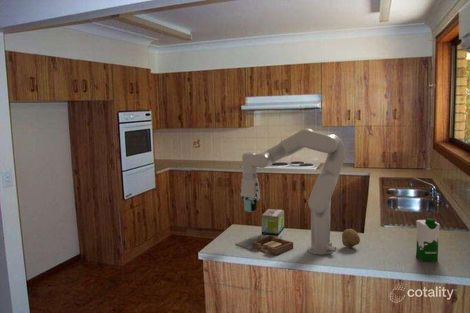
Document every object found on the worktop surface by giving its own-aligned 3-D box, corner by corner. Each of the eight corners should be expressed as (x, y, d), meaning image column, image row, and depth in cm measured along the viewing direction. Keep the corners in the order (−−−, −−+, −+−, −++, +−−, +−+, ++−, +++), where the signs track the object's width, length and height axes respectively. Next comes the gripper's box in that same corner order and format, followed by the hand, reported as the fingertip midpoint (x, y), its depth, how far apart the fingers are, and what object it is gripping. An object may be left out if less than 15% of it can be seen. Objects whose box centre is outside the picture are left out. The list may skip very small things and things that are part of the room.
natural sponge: (361, 246, 213) (361, 227, 211) (357, 252, 205) (357, 232, 204) (344, 243, 217) (344, 225, 216) (339, 249, 210) (339, 230, 209)
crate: (293, 248, 212) (293, 242, 212) (275, 256, 203) (275, 249, 202) (270, 241, 224) (270, 235, 223) (252, 248, 214) (252, 242, 214)
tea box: (278, 242, 223) (278, 216, 221) (261, 240, 226) (260, 215, 224) (284, 234, 237) (284, 209, 235) (267, 232, 240) (267, 208, 238)
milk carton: (422, 262, 190) (423, 220, 187) (413, 255, 199) (414, 215, 196) (440, 261, 190) (442, 220, 187) (430, 254, 199) (432, 214, 196)
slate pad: (266, 244, 220) (266, 243, 220) (251, 250, 212) (251, 249, 212) (250, 239, 229) (250, 238, 229) (235, 244, 221) (235, 243, 221)
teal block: (256, 210, 218) (256, 199, 217) (250, 212, 215) (250, 200, 214) (250, 208, 221) (250, 198, 220) (244, 210, 218) (244, 199, 217)
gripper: (266, 176, 212) (266, 211, 214) (243, 173, 224) (244, 205, 227) (256, 179, 207) (257, 213, 209) (233, 175, 219) (234, 208, 221)
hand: (250, 209), depth 218 cm, fingers closed on teal block, 4 cm apart
